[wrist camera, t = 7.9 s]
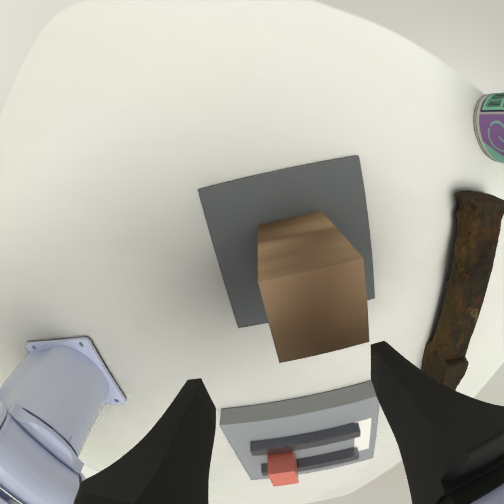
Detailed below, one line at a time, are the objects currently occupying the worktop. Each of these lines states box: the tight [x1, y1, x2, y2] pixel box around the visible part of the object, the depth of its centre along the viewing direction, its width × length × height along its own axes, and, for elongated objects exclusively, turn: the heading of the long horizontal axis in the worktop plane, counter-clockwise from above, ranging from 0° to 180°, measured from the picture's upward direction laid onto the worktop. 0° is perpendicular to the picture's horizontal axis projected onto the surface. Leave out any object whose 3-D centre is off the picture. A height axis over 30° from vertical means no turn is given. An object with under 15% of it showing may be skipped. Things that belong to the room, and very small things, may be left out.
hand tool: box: [422, 191, 504, 390], centre depth 19 cm, size 19×4×5 cm, turn 179°
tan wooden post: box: [257, 211, 369, 363], centre depth 15 cm, size 4×4×8 cm
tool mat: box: [198, 156, 375, 328], centre depth 19 cm, size 10×10×1 cm
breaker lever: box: [267, 451, 299, 486], centre depth 23 cm, size 2×3×3 cm
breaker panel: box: [220, 381, 379, 480], centre depth 25 cm, size 14×12×3 cm
